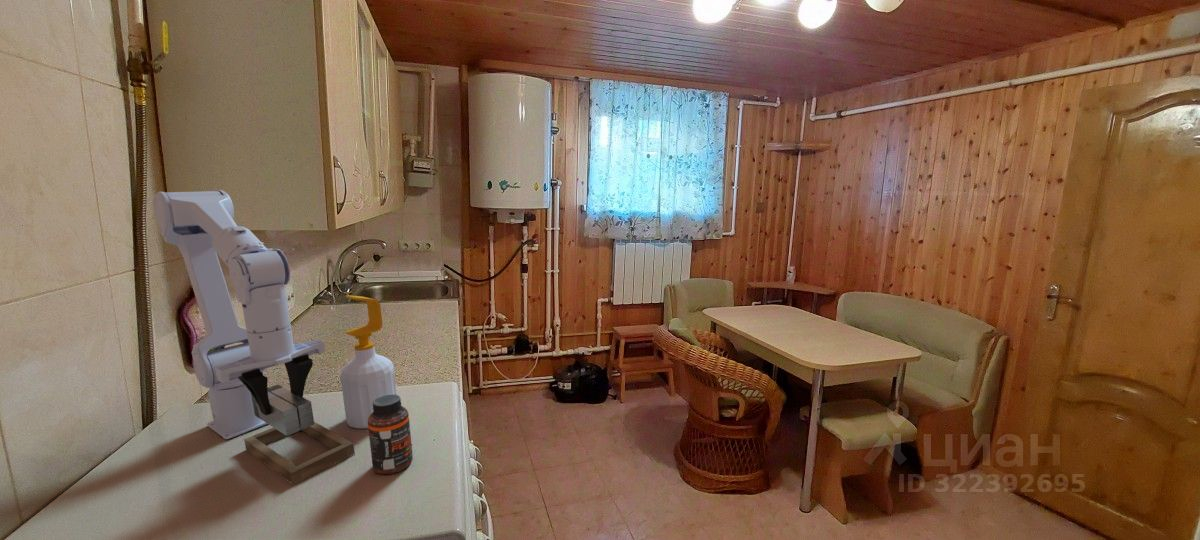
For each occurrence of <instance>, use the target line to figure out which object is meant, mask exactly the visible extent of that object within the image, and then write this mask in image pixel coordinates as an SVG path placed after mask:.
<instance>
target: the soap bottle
mask: <svg viewBox="0 0 1200 540" xmlns="http://www.w3.org/2000/svg"><path fill="white" fill-rule="evenodd" d="M345 298H346V299H351V300H356V301H363V302H366V306H367V313H368V314H367V315H368V323H367V324H365V325H364V326H360V327H357V328H352V329H349V330H346V335H349V336H352V337H354V338H355V340H358V343H357V344H355V345H354V352H355V357H354V358H353V359H351V360H350V361H349V362H347V363H346V364H345V365H344V367H342V369H341V371H340V372H341V373H340V375H339V376H340V384H341V391H342V398H343V405H344V412H345V421H346V424H347V425H348V426H349V427H350V428H354V429H368V418H369V416H370V414H371V413H373V401H374V400H375V399H376V398H378V397H381V396H384V395H392V394H393V395H398V393H397V388H396V387H397V386H396V377H395V368H394V364H393V362H392V361H391V360H390V359H389V358H387V357H385V356H383V355H380V354H377V353H376V348H375V342H373V341H370V339H369V338H370V337H371V336H372V333H373V334H374V333H376V332H379V331H381V329H382V328H383V317H382V308H381V302H379V300H377V299H374V298H372V297H371V298H370V297H366V296H361V295H351V294H349V295H348V294H346V295H345Z"/></svg>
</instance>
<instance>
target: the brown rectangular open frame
mask: <svg viewBox="0 0 1200 540" xmlns="http://www.w3.org/2000/svg"><path fill="white" fill-rule="evenodd" d="M300 431H302V432H303V433H305V434H307V435H309V436H310V437H312V438H313V439H315V440H317V441H319V442H320V443H322V444H324V445H325V446H327V447H329V448H331V449H330V450H328V451H326V452H323V453H321V454H319V455H317V456H315V457H312V458H311V459H309V460H306V461H305V462H303V463H300V464H299V465H295V464H294V463H293V462H291V461H290V460H288V459H286V458H285V457H284V456H282V455H281V454H279V453H278V452H277V451H275V450H273V449H272V448H270V447H269V446H268V444H271V443H273V442H276V441H278V440H280V439H283V438H286V437H287V436H286V435H285V434H283V433H281V432H280V431H278V430H277V429H275V428H274V427H271V428H269V429H266V430H264V431H261V432H258V433H256V434H254V435H251V436H249V437H246V438H244V439H243V440H244V445H245V450H246V451H247V452H249V454H251V455H252V456H254V458H256V459H258V460H259V461H261V462H262V463H263V464H264V465H266V466H267V467H269V468H270V469H271V468H272V469H271V470H273V471H274V472H275V471H276V472H275V473H277V474H278V475H279V474H280V475H279V476H281V477H282V478H283V477H284V478H283V479H285V480H286V479H287V480H288V481H287V480H286V481H287V482H288V483H290V482H291V483H290V484H291V485H293V486H294V485H296V484H298V483H300V482H303V481H304V480H306V479H308V478H310V477H313V476H314V475H316V474H319V473H320V472H322V471H324V470H326V469H328V468H330V467H332V466H334V465H336V464H338V463H339V461H340V462H342V461H343V459H344V458H346V457H348V456H350V457H352V456H354V455H356V453H355V447H354V445H355V444H354V442H352V441H350V440H348V439H346V438H345V437H342V436H341V435H339V434H338V433H336V432H333V431H332V430H330V429H328V428H326V426H323V425H321V424H319V423H318V422H316V421H314V425H312V426H310V427H307V428H305V429H302V430H301V429H300ZM353 454H354V455H353ZM351 455H352V456H351ZM348 458H349V457H348ZM346 459H347V458H346ZM341 460H342V461H341ZM344 460H345V459H344ZM337 462H338V463H337ZM335 463H336V464H335ZM333 464H334V465H333ZM331 465H332V466H331ZM329 466H330V467H329ZM323 469H324V470H323ZM321 470H322V471H321Z"/></svg>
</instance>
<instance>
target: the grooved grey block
mask: <svg viewBox="0 0 1200 540" xmlns="http://www.w3.org/2000/svg"><path fill="white" fill-rule="evenodd" d="M267 388H268V398H269V403H270V408H271V414H269V415H264V414H263V413H261V411H260V408H259V406H258V404H257V402H256V400H255V398H254V397H253V395H252V394H251V397H252V402H253V408H254V414H255V416H256V417H258V418H259V419H261V420H263V421H264V422H266V423H267V424H266V425H269V426H271V428H273V427H274V428H275V429H277V430H278V431H280V432H281V433H283V434H285V435H286V437H288V436H290V435H293V434H295V433H298V432H299V431H302V429H305V428H307V427H310V426H312V425H314V422H315V419H314V413H313V406H312V401H311V400H309V399H307V398H305V397H304V396H303V397H301V396H299V395H297V394H295V393H293V392H292V391H291V390H289V389H287V388H285V387H283V386H282V385H280V384H275V385H273V386H269V387H267ZM300 429H301V430H300Z"/></svg>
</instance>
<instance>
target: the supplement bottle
mask: <svg viewBox="0 0 1200 540" xmlns="http://www.w3.org/2000/svg"><path fill="white" fill-rule="evenodd" d="M401 401H402V400H401V396H400V395H398V394H397V395H393V394H392V395H384V396H381V397H378V398H376V399H375V400H374V401H373V413H371V414H370V416H369V418H368V428H367V430H368V436H369V447H370V453H371V454H370V455H371V456H370V457H371V463H372V469H373V470H374V471H375V472H376V473H378V474H381V475H392V474H395V473H398V472H401V471H403V470H404V469H406V468H408V467H409V466H410V464H411V463H412V461H413V444H412V435H411V427H410V426H411V424H410V416H409V411H408V409H407V408H406V407H404V406H402V402H401Z"/></svg>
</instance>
